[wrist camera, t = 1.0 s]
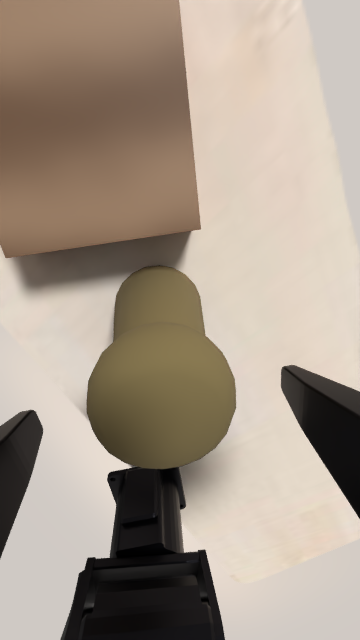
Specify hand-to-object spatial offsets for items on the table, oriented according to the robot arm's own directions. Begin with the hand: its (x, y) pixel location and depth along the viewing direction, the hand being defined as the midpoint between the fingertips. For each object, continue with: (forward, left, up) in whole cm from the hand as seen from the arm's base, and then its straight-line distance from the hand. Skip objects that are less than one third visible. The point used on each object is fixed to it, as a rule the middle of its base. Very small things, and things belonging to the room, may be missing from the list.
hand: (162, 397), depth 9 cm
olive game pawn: (0, 0, -10) cm, 10 cm away
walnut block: (+10, +2, -9) cm, 14 cm away
